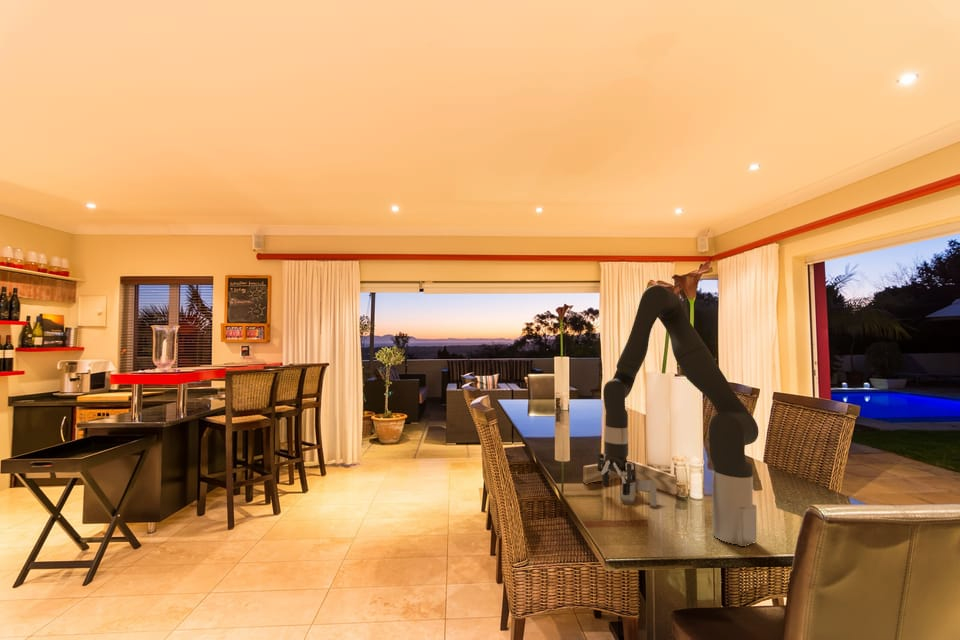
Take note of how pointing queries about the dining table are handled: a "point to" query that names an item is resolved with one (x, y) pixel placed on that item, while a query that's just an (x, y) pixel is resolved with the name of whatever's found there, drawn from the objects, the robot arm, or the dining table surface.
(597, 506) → the dining table surface
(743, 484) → the robot arm
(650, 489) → the bracket
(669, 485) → the wooden corner joint
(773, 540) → the dining table surface
